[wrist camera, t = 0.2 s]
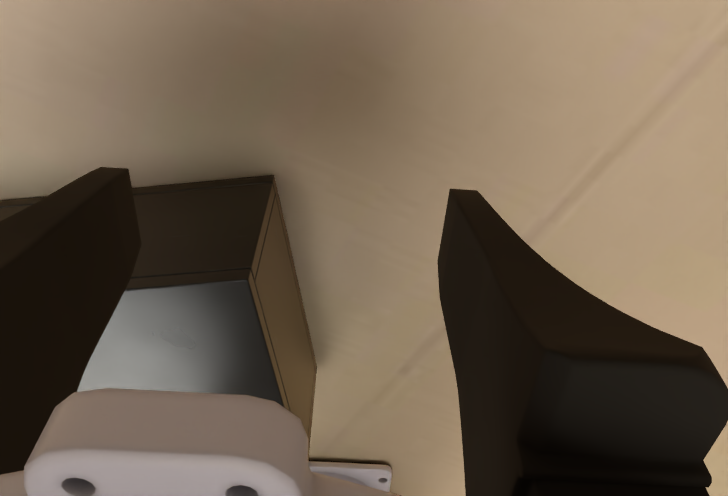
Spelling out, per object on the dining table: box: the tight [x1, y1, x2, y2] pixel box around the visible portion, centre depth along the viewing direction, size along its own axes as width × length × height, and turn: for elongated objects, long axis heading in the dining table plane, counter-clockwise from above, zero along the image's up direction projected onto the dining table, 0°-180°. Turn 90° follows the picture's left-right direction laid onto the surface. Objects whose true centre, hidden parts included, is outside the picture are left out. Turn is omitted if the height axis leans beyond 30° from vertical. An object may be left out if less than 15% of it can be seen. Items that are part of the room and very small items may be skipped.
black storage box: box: [0, 175, 317, 458], centre depth 26 cm, size 13×11×7 cm
